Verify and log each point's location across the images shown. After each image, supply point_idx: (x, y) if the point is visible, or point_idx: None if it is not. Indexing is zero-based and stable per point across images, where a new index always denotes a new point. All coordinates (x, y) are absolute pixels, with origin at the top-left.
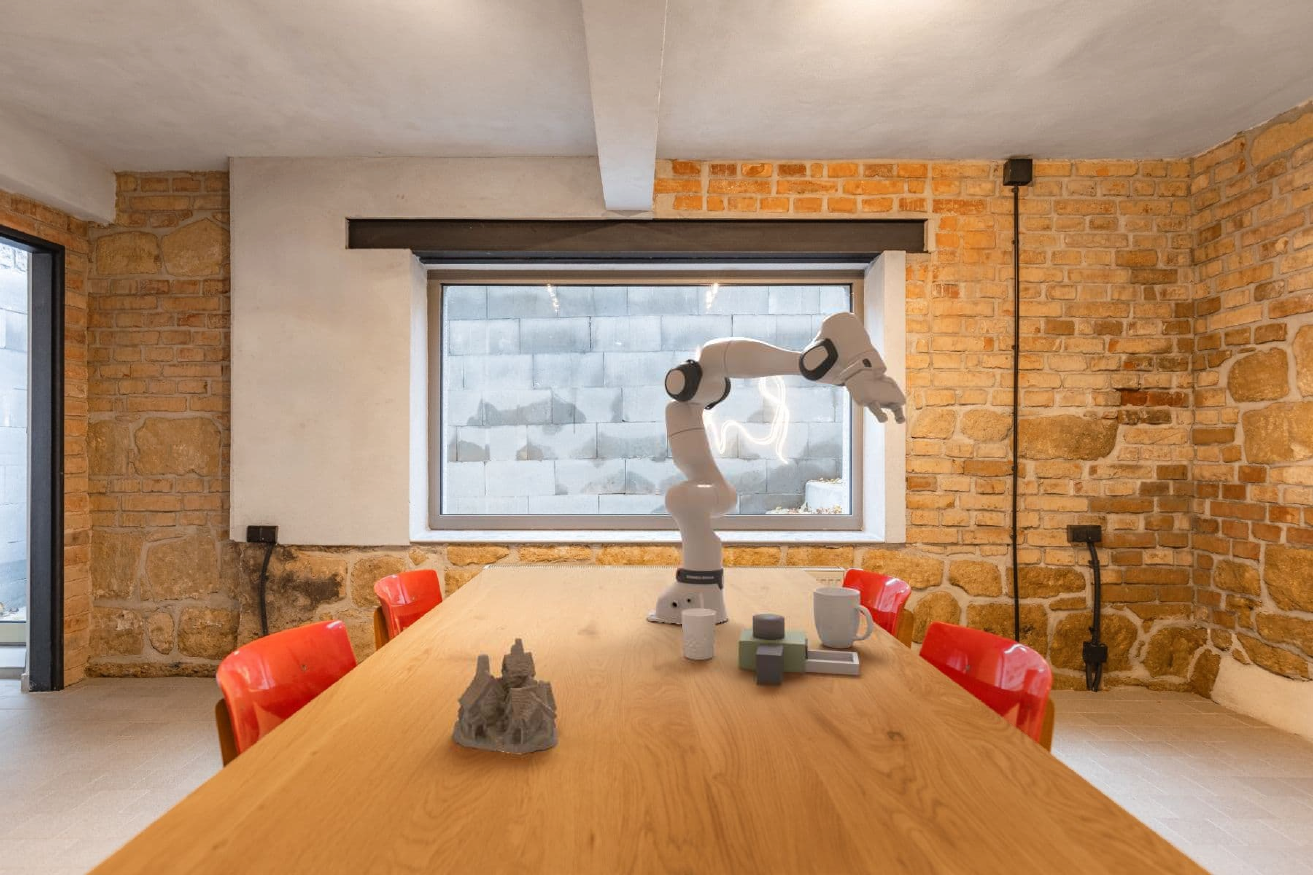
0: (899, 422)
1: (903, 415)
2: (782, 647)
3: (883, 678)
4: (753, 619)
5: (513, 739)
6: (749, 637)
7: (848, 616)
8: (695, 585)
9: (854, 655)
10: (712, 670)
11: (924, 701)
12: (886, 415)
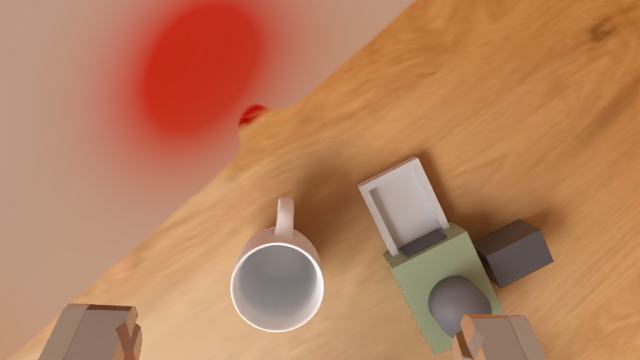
0: (137, 333)
1: (53, 349)
2: (499, 250)
3: (405, 122)
4: None
5: None
6: None
7: (303, 238)
8: None
9: (377, 183)
10: None
11: (467, 41)
12: (485, 344)
